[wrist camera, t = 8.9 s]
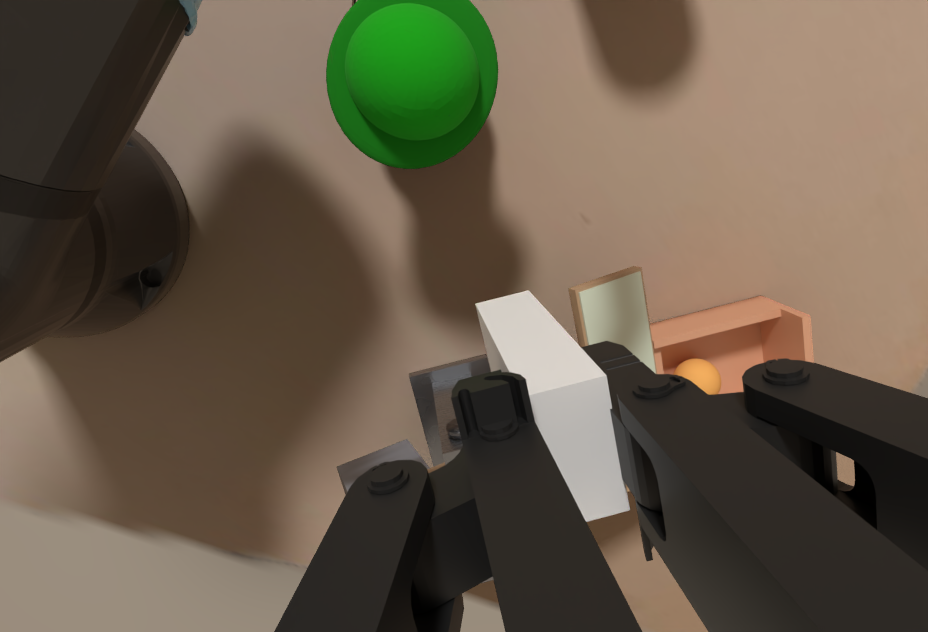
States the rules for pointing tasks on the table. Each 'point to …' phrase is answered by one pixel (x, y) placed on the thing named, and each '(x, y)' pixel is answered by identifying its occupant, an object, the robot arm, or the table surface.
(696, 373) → the ball
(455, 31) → the toy
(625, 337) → the lever
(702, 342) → the pink open box
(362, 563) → the robot arm
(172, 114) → the table surface
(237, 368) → the table surface
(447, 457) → the bracket
